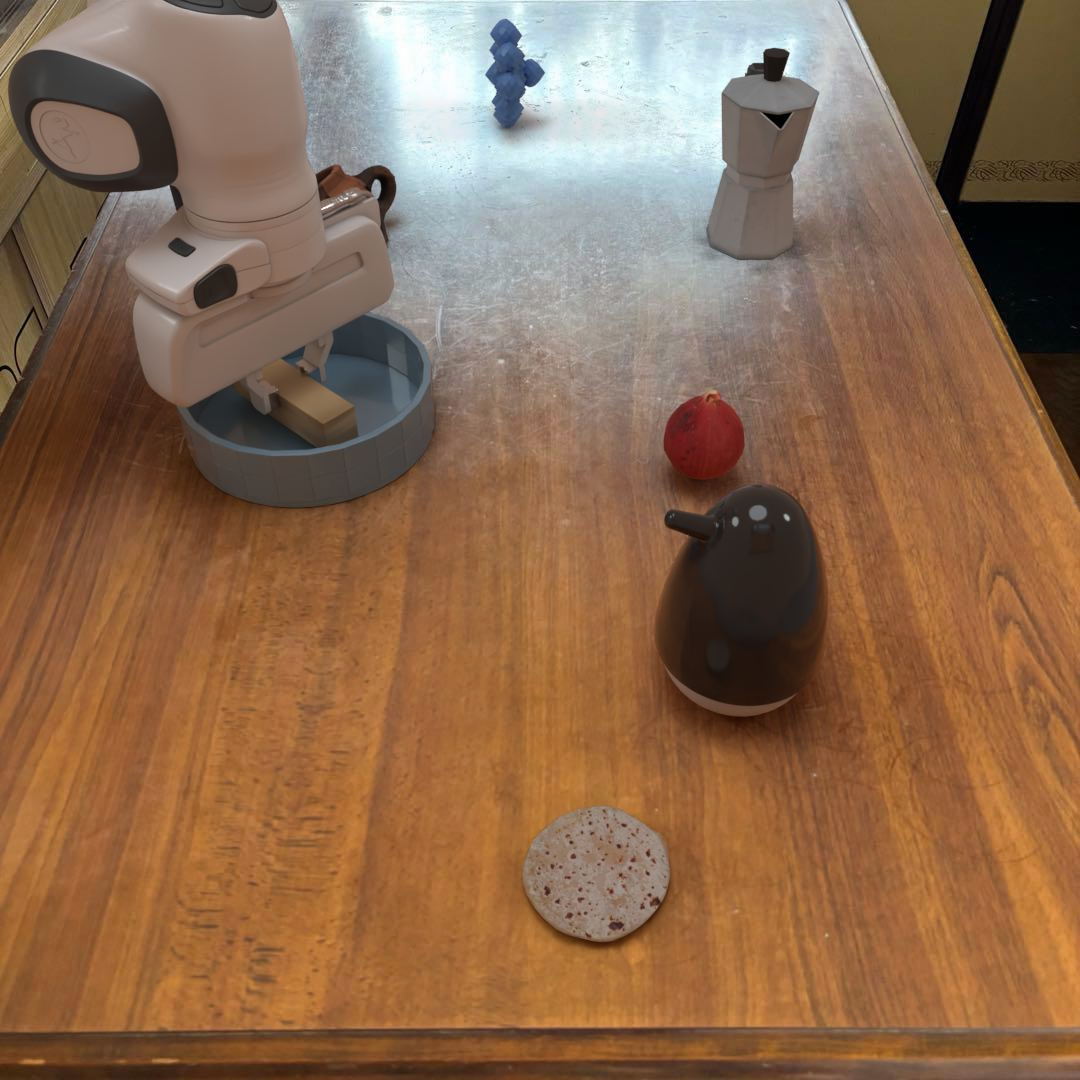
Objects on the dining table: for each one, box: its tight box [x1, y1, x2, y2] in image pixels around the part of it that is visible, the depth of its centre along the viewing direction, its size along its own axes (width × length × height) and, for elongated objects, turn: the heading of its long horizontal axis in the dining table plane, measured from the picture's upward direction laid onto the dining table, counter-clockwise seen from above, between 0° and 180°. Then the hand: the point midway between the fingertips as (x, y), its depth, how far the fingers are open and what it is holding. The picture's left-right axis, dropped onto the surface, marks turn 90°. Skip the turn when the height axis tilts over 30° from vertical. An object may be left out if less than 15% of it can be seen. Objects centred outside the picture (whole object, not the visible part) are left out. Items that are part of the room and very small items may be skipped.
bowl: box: [175, 311, 436, 509], centre depth 86 cm, size 19×19×5 cm
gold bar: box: [232, 358, 359, 448], centre depth 85 cm, size 12×3×3 cm, turn 47°
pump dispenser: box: [653, 483, 830, 717], centre depth 64 cm, size 10×10×15 cm
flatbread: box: [521, 805, 671, 943], centre depth 59 cm, size 8×8×1 cm
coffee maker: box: [705, 47, 820, 260], centre depth 103 cm, size 15×9×18 cm, turn 0°
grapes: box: [484, 18, 546, 128], centre depth 123 cm, size 12×7×12 cm, turn 5°
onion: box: [662, 388, 746, 481], centre depth 80 cm, size 6×6×8 cm
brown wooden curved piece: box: [315, 164, 397, 245], centre depth 107 cm, size 12×9×8 cm
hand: (290, 395), depth 85 cm, fingers closed on gold bar, 3 cm apart
